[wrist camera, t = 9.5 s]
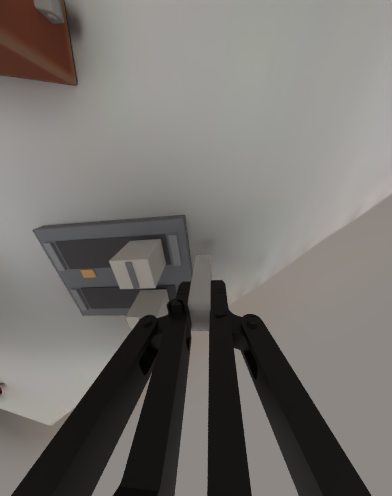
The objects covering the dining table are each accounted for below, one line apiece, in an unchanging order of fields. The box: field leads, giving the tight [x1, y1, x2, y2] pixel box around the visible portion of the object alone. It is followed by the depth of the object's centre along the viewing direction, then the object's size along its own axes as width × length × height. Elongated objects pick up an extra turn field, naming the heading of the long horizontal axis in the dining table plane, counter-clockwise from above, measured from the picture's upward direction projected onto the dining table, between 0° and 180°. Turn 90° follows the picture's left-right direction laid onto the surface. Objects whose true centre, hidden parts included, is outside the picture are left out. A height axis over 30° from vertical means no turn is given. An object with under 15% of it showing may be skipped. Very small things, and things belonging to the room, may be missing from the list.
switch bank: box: [33, 215, 192, 316], centre depth 24 cm, size 20×16×2 cm
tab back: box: [126, 289, 169, 331], centre depth 22 cm, size 4×4×5 cm
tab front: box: [109, 239, 166, 289], centre depth 19 cm, size 4×4×5 cm
